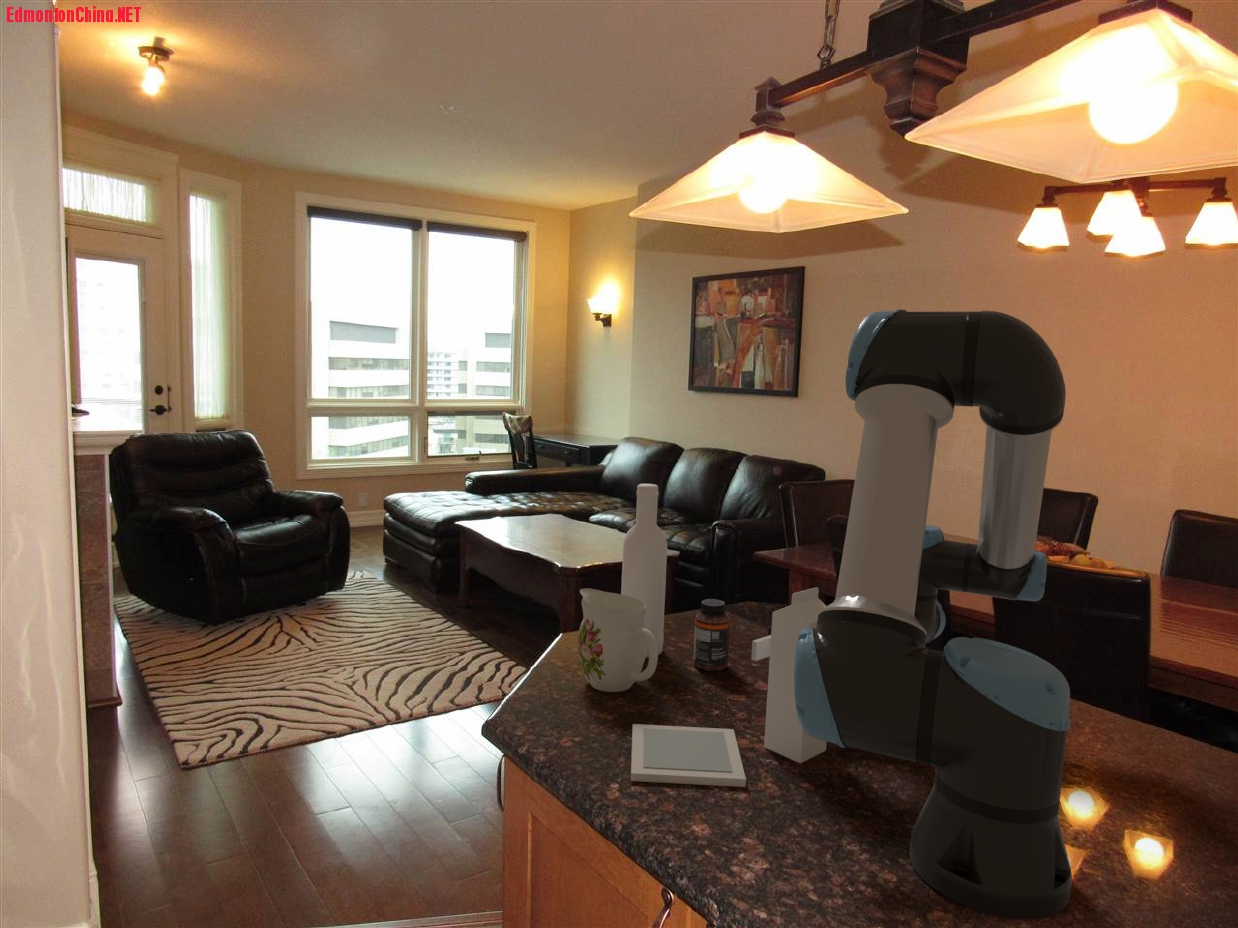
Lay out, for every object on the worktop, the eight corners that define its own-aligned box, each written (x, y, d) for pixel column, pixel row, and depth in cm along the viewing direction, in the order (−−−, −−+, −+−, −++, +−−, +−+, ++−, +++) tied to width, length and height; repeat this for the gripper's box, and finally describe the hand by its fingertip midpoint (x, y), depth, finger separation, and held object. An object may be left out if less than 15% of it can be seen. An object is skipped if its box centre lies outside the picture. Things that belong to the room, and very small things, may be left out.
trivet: (745, 786, 100) (746, 777, 100) (630, 780, 101) (631, 771, 101) (733, 735, 114) (733, 728, 114) (632, 730, 115) (632, 722, 115)
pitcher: (626, 713, 120) (630, 622, 119) (553, 675, 134) (555, 593, 132) (679, 696, 127) (683, 610, 126) (605, 662, 141) (608, 583, 139)
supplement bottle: (711, 657, 145) (715, 595, 144) (735, 668, 140) (738, 603, 139) (685, 663, 142) (689, 599, 140) (708, 674, 137) (712, 608, 136)
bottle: (634, 640, 153) (641, 480, 149) (671, 649, 148) (679, 485, 145) (609, 651, 146) (616, 484, 143) (647, 661, 142) (654, 489, 138)
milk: (826, 751, 111) (839, 592, 108) (800, 764, 107) (813, 599, 104) (788, 735, 115) (800, 581, 113) (762, 747, 111) (773, 588, 109)
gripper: (956, 683, 115) (878, 723, 101) (805, 636, 133) (720, 665, 119) (961, 631, 114) (883, 664, 100) (808, 591, 132) (723, 614, 118)
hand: (794, 665), depth 109 cm, fingers open, 13 cm apart
